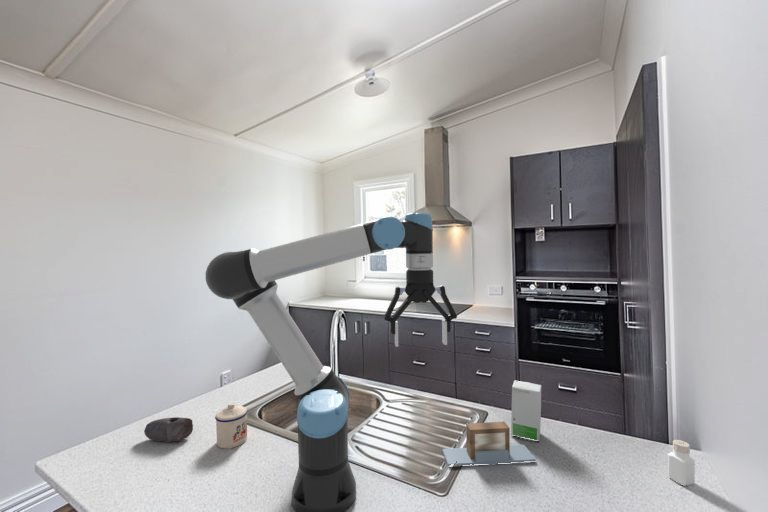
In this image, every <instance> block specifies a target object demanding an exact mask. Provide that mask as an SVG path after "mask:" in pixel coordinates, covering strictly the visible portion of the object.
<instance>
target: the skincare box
mask: <svg viewBox="0 0 768 512" xmlns="http://www.w3.org/2000/svg"><path fill="white" fill-rule="evenodd" d="M541 414H542V385H541V384H537V383H532V382H528V381H519V380H517V379H516V380H513V384H512V386H511V417H510V418H511V419H510V420H511V422H510V423H511V425H510V429H511V430H510V436H511V435H515V436H519V437H525V438H530V439H534V440H539V441H540V437H541V420H542V417H541V416H542V415H541Z"/></svg>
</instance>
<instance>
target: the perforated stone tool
mask: <svg viewBox="0 0 768 512" xmlns="http://www.w3.org/2000/svg"><path fill="white" fill-rule="evenodd" d="M193 430H194V424H193V419H192V418H188V417H179V416H178V417H176V416H175V417H165V418H159V419H155V420H152V421H150V422H149V423H147V424H146V425H145V428H144V436H145V437H146V438H148V439H149V440H151V441H156V442H157V441H159V442H160V443H161V442H162V443H163V442H164V443H172V442H182V441H183V440H185V439H188V438H189V436H190V435H191V434H192V433H193Z"/></svg>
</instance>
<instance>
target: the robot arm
mask: <svg viewBox="0 0 768 512" xmlns="http://www.w3.org/2000/svg"><path fill="white" fill-rule="evenodd" d="M404 217H405V218H404V220H400V219H398V218H396V217H395V216H392V215H391V216H389V215H386V216H381V217H380V218H378V219H374V220H371V221H369V220H368V221H364V222H363V223H359V224H356V225H352V226H348V227H344V228H341V229H337V230H334V231H330V232H325V233H323V234H318V235H314V236H310V237H307V238H303V239H299V240H295V241H291V242H288V243H284V244H281V245H277V246H273V247H270V248H265V249H262V250H258V249H256V248H254V247H252V248H248V249H244V250H239V251H226V252H223V253H220V254H218V255H216V256H214V258H213V259H212V260H211V261H210V262H209V264H208V265H207V267H206V270H205V282H206V285H207V287H208V289H209V290H210V291H211V292H212V294H214V295H215V296H217V298H218V297H219V298H221V299H226V300H232V301H233V303H234V304H235V306H236V307H237V308H238V310H243V311H246V312H248V314H249V316H250V317H251V318H252V320H253V322H254V323H255V325H256V326H257V327H258V329H259V331H260V333H261V334H262V335H263V337H264V339H265V340H266V342H267V343H268V344H269V346H270V348H271V349H272V350H273V352H274V354H275V355H276V357H277V358H278V360H279V362H280V363H281V364H282V366H283V367H284V369H285V371H286V372H287V374H288V375H289V377H290V378H291V380H292V382H293V383H294V384H295V389H294V392H293V393H294V396H295V397H296V398H297V400H298V402H299V403H298V405H297V412H296V421H297V445H298V446H297V447H298V448H297V450H298V469H297V472H296V476H295V478H294V479H295V480H294V482H293V486H292V489H291V505H292V508H293V510H294V511H295V512H346V511H347V510H348V509H349V508H350V507H351V506H352V505H353V504H354V502H355V499H356V497H357V483H356V478H355V475H354V473H353V470H352V468H351V465H350V463H349V441H348V440H349V439H348V437H349V436H348V433H349V431H348V429H349V427H348V425H349V423H348V421H349V419H348V418H349V404H350V393H349V392H350V391H349V388H348V385H347V384H346V382H345V381H344V379H342V377H340V376H339V375H337V374H336V373H335V372H334V371H333V369H332V368H331V366H327V365H323V363H322V362H321V361H320V359H319V357H318V356H317V354H316V353H315V351H314V350H313V349H312V347H311V345H310V344H309V342H308V340H307V339H306V338H305V336H304V334H303V332H302V331H301V330H300V328H299V326H298V325H297V324H296V321H294V319H293V317H292V316H291V314H290V312H289V310H287V308H286V306H285V305H284V303H283V302H282V300H281V299H280V297H279V295H278V294H277V291H278V286H279V285H278V283H277V282H276V281H278V280H280V279H285V278H288V277H291V276H296V275H299V274H302V273H306V272H309V271H313V270H317V269H320V268H324V267H327V266H331V265H334V264H339V263H342V262H345V261H346V262H347V261H349V260H353V259H357V258H360V257H364V256H368V255H370V254H376V253H379V252H382V251H386V250H393V249H403V248H405V268H406V269H407V270H406V272H405V276H406V279H405V280H406V283H405V287H400V286H395V288H394V295H393V297H392V299H391V301H390V303H389V306H387V309H386V311H385V313H384V316H383V318H384V321H386V322H389V323H390V333H391V334H392V335H394V346H395V348H397V347H399V322H398V319H400V316H401V315H402V314H403V313H404V312H405V310H406V309H407V308H408V307H409V305H411V303H412V302H413V303H415V304H418V303H424V304H425V303H427V302H429V303H431V304H432V306H433V307H434V308H435V309H436V310H437V311H438V312H439V314H440V315H441V316H442V317H443V318H444V319H441V337H442V338H441V341H442V342H441V343H442V344H443V345H444V346H448V333H451V322H452V320H454V319H457V318H458V315H457V313H456V311H455V310H454V307H453V306H452V303H451V301H450V299H449V297H448V296H447V293H446V286H444V285H442V284H440V285H438V286H435V285H434V270H433V269H432V268H433V267H434V254H433V253H434V251H433V250H434V249H433V244H434V242H433V239H434V238H433V237H434V236H433V235H434V233H433V232H434V229H433V217H432V215H431V214H430V213H427V212H411V213H406V215H405V216H404ZM404 292H405V293H406V295H407V297H406V298H405V299H404V301H403V302H402V303H401V305H399V307H398V308H397V309H396V310H395V307H396V305H397V303H398V301H399V298H400V296H402V295H403V293H404ZM436 292H437V294H439V295H440V297H441V300H442V301H443V303H444V305H445V307H446V309H447V311H448V313H447V312H446V311H445V310H444V309H443V307H442V306H441V305H440V304H439V303H438V302H437V301H436V299H435V298H434V297H433V295H434V293H436ZM394 310H395V312H394V313H393V311H394ZM392 314H393V315H392Z"/></svg>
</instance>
